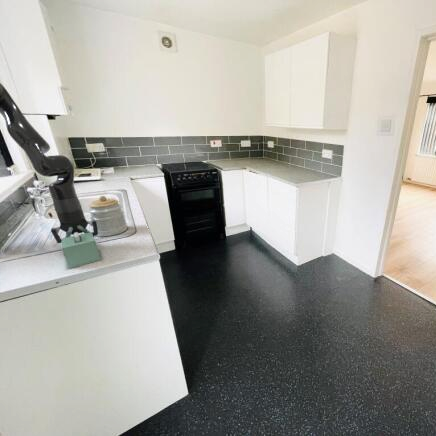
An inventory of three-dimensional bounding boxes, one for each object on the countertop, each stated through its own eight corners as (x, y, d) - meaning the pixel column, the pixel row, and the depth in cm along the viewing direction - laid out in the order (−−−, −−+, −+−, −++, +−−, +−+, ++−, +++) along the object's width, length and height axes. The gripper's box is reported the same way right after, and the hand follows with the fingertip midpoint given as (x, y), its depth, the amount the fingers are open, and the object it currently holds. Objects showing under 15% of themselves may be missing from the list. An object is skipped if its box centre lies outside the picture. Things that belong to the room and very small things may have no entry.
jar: (119, 236, 112) (109, 198, 106) (88, 238, 111) (76, 200, 105) (132, 225, 124) (124, 192, 118) (104, 227, 123) (94, 193, 117)
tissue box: (69, 268, 86) (59, 242, 82) (68, 257, 93) (59, 233, 90) (100, 259, 91) (93, 235, 88) (97, 250, 99) (90, 227, 96)
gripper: (91, 203, 101) (102, 240, 107) (43, 210, 92) (58, 250, 98) (93, 207, 96) (104, 245, 102) (42, 215, 87) (58, 257, 92)
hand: (82, 247), depth 100 cm, fingers closed on bowl, 6 cm apart
